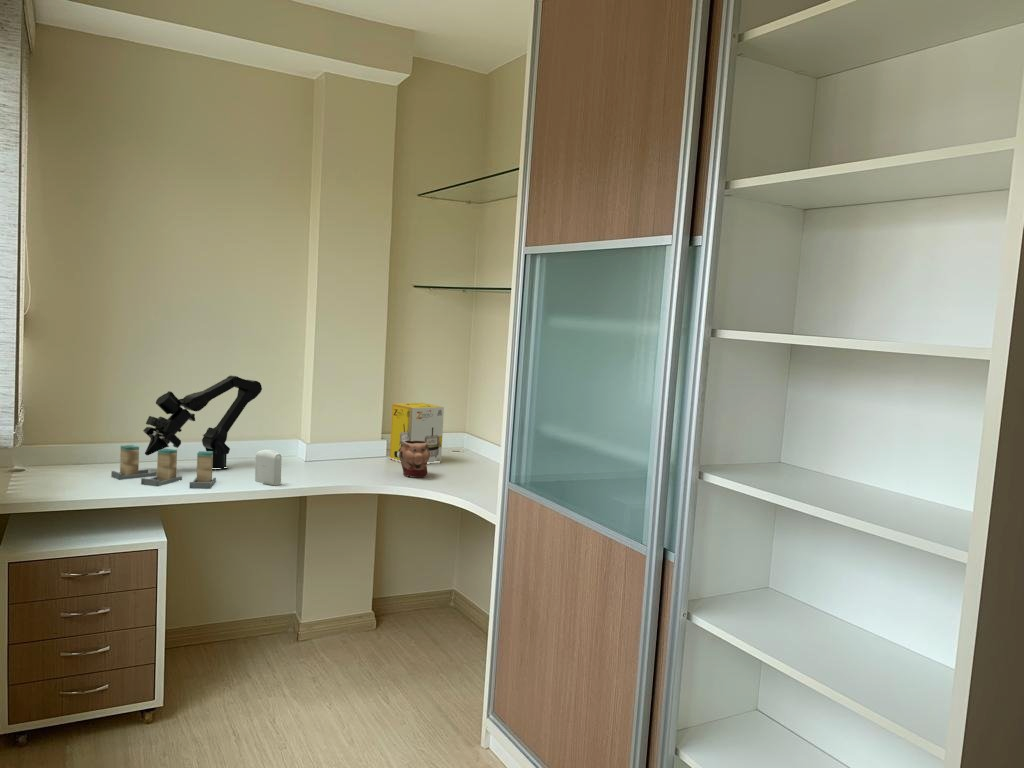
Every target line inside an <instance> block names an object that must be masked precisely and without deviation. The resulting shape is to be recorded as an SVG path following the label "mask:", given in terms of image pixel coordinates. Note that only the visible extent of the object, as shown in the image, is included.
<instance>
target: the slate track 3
mask: <svg viewBox="0 0 1024 768" xmlns="http://www.w3.org/2000/svg"><path fill="white" fill-rule="evenodd" d="M216 481H217V477H212V481H211V482H197V476H196V477H195V478H194V479H193V481H189V489H197V490H199V489H202V490H203V489H204V490H210V489H212V487H213V486H214V484H215V483H216Z"/></svg>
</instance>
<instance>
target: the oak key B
mask: <svg viewBox="0 0 1024 768" xmlns="http://www.w3.org/2000/svg"><path fill="white" fill-rule="evenodd" d="M177 464H178V449H173V448H164V449H161V450H158V451H157V468H156V471H157V472H156V477H157V480H160V481H164V480H168V479H172V478H176V477H177V471H178V470H177V467H178V466H177Z"/></svg>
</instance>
